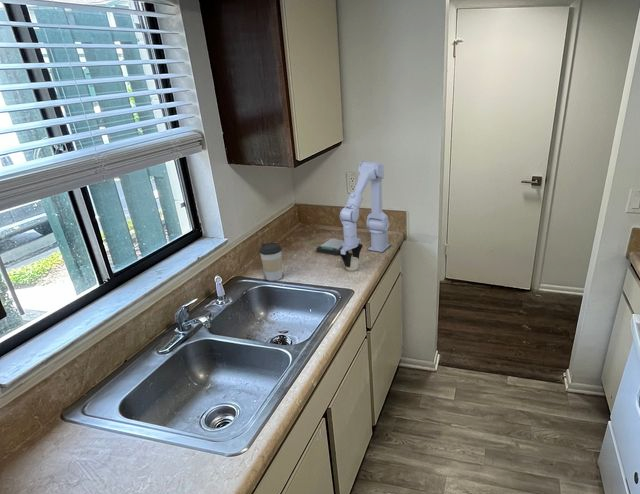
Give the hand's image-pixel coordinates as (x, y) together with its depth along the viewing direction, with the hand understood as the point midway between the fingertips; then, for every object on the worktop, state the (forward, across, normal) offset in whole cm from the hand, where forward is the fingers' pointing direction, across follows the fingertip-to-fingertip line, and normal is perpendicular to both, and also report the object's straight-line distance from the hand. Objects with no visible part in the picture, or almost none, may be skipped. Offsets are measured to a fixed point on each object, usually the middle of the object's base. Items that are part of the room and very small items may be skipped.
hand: (351, 263), depth 193 cm
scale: (+2, -16, -19) cm, 25 cm away
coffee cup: (+3, +20, -27) cm, 34 cm away
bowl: (+3, 0, 0) cm, 3 cm away
